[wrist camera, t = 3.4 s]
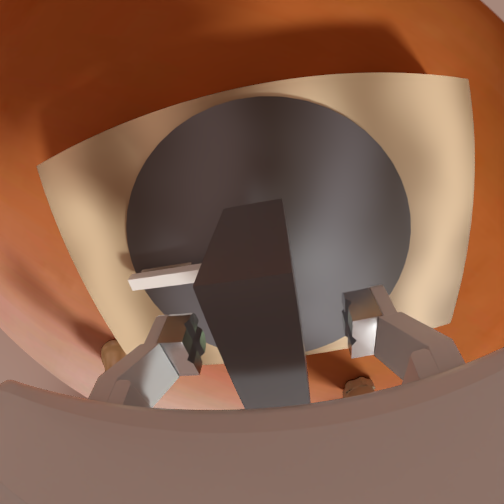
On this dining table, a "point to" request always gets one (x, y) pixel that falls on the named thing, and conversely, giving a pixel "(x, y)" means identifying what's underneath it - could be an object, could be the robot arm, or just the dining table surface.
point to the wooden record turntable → (279, 196)
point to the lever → (249, 303)
